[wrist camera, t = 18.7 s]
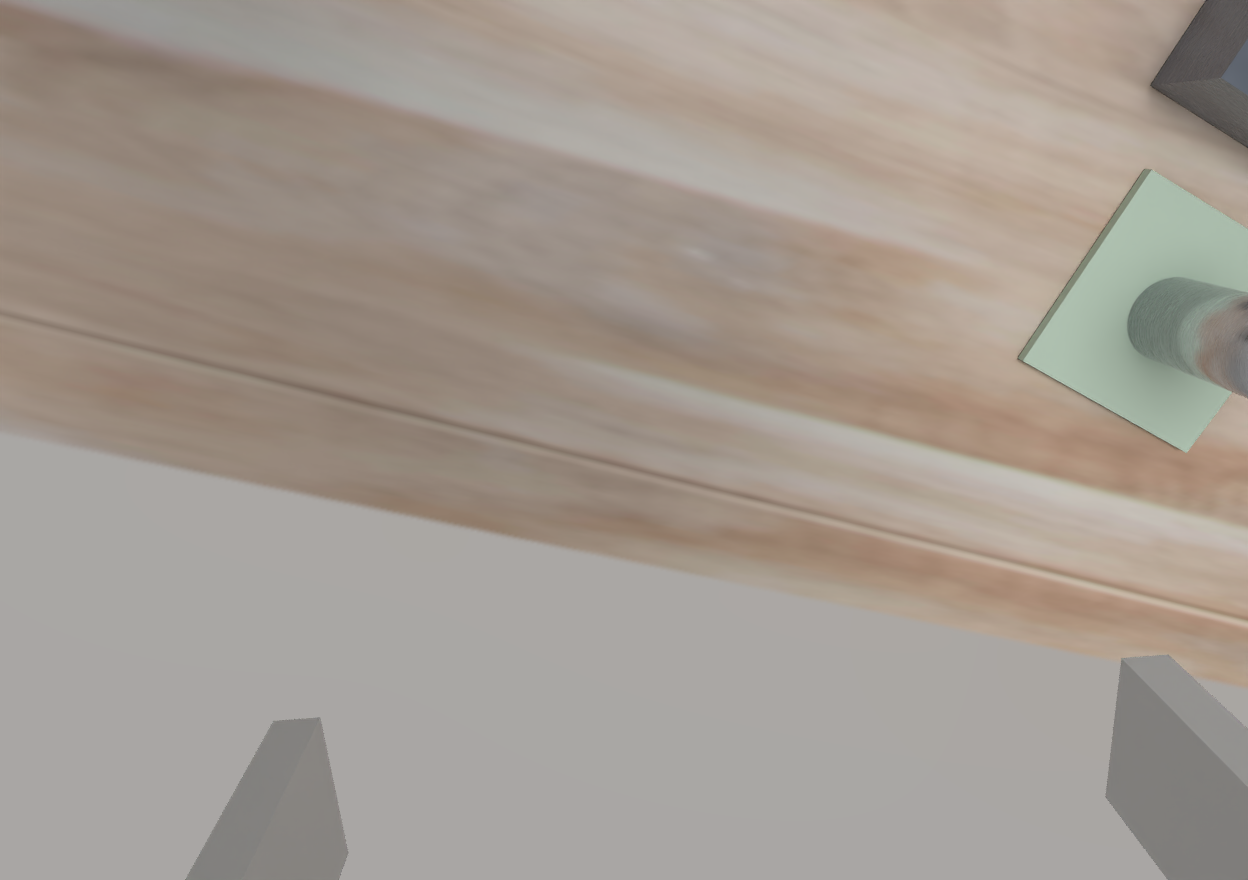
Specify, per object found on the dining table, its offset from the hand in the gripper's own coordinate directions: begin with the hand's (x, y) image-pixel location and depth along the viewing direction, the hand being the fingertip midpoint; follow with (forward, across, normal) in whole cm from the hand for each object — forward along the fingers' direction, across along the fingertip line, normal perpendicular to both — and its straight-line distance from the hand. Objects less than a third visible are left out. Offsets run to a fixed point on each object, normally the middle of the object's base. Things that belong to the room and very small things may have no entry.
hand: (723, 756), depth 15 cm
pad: (+31, +25, 0) cm, 40 cm away
